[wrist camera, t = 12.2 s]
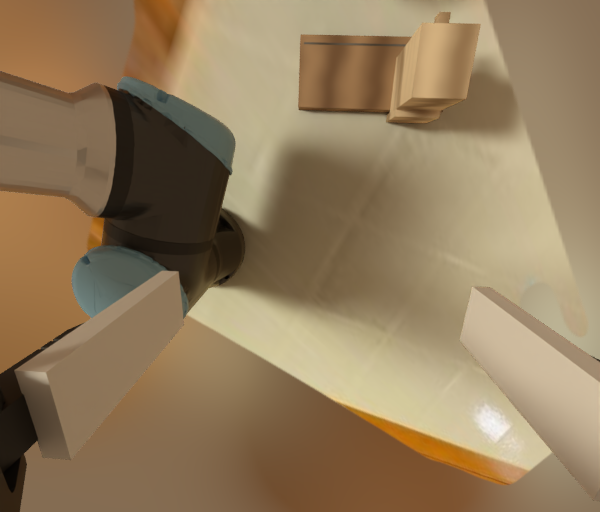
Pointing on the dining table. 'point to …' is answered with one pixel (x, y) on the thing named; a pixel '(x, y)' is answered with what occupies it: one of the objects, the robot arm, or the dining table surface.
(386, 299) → the dining table surface
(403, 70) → the tan block with peg
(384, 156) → the dining table surface
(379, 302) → the dining table surface
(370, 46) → the plank
